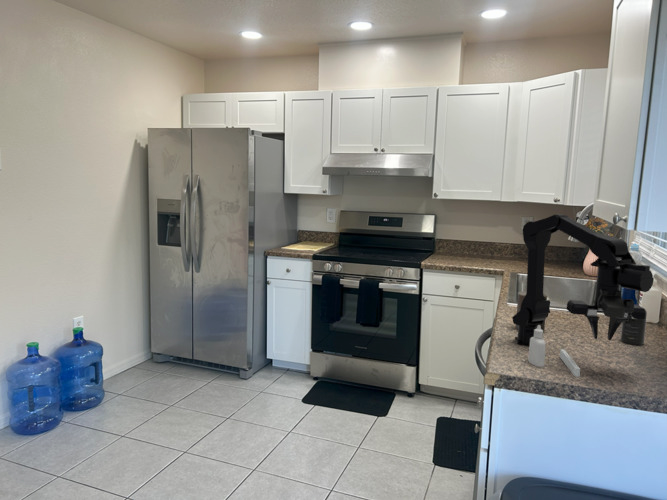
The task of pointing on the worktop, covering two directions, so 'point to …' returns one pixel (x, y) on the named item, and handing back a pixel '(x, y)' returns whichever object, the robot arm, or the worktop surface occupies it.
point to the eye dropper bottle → (537, 348)
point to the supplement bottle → (633, 331)
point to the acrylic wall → (570, 363)
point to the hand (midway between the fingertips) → (602, 339)
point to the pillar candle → (520, 298)
